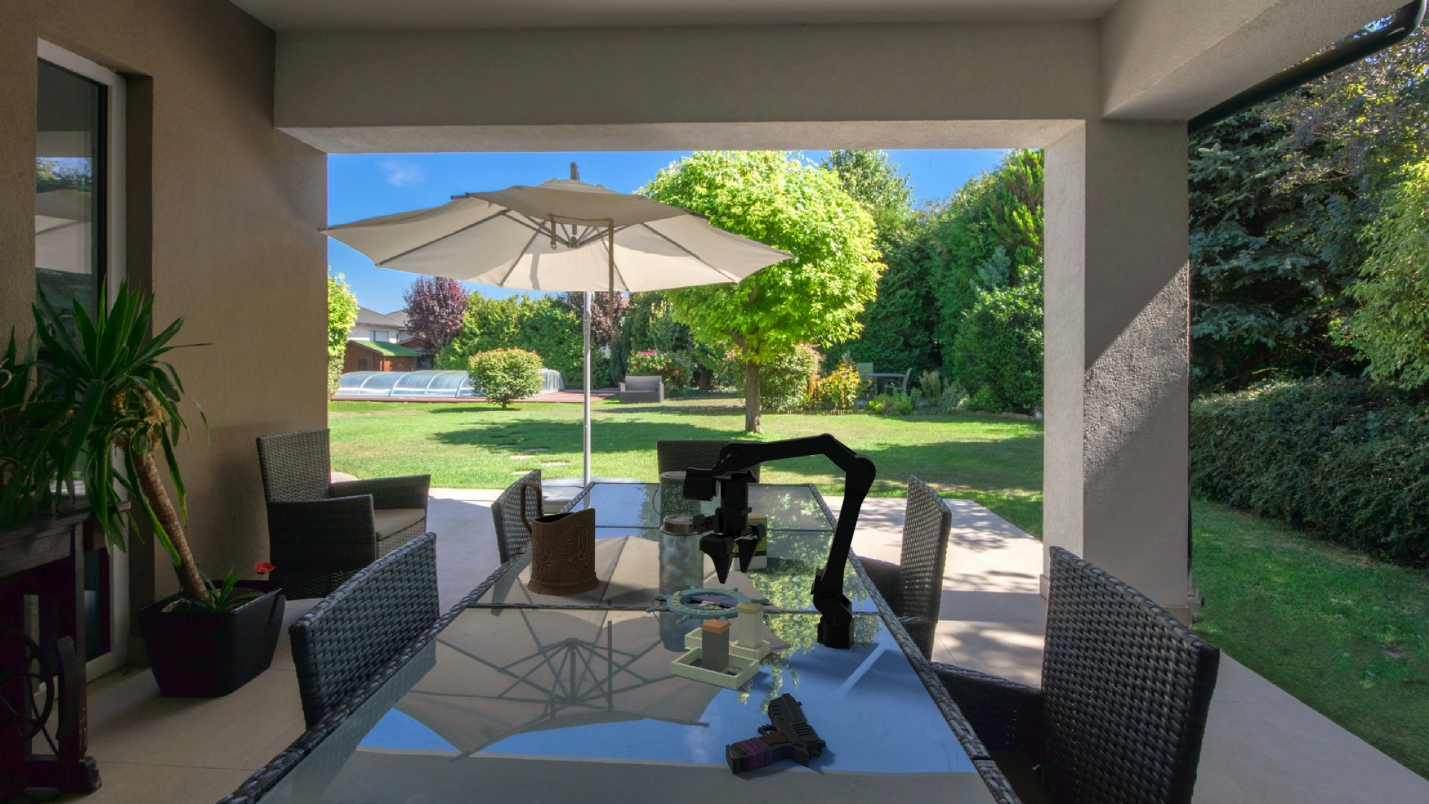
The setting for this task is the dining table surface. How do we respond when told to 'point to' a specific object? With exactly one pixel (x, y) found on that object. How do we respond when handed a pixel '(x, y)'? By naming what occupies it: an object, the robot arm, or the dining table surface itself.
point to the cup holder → (560, 549)
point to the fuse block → (695, 640)
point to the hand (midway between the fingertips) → (733, 578)
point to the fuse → (750, 625)
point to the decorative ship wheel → (707, 603)
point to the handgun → (777, 739)
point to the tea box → (761, 553)
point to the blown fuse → (715, 646)
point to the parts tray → (712, 677)
